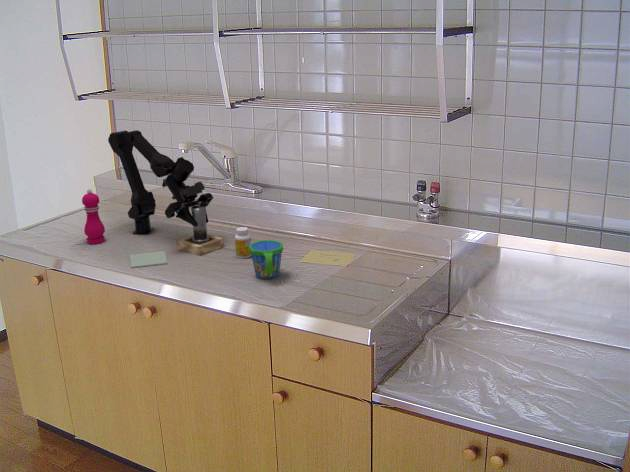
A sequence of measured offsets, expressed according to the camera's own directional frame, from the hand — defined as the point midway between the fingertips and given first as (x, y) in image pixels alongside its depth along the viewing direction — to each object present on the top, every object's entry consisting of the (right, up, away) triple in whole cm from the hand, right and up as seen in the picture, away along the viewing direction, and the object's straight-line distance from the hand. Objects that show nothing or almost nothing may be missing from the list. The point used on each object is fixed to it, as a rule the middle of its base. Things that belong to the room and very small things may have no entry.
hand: (202, 224), depth 245 cm
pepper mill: (-41, -6, +13) cm, 44 cm away
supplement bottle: (+15, -11, -6) cm, 20 cm away
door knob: (-1, -6, +3) cm, 7 cm away
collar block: (-1, -8, +4) cm, 9 cm away
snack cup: (+25, -17, -24) cm, 38 cm away
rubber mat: (-17, -12, -7) cm, 22 cm away
